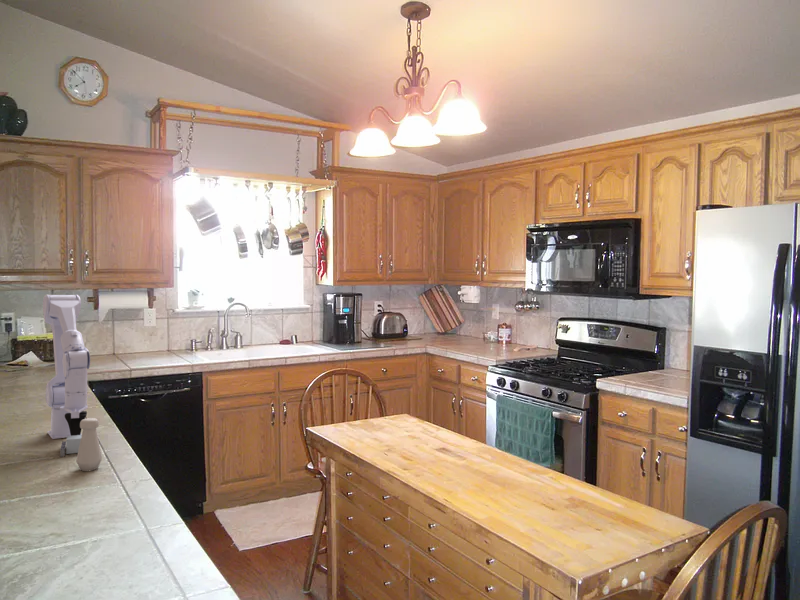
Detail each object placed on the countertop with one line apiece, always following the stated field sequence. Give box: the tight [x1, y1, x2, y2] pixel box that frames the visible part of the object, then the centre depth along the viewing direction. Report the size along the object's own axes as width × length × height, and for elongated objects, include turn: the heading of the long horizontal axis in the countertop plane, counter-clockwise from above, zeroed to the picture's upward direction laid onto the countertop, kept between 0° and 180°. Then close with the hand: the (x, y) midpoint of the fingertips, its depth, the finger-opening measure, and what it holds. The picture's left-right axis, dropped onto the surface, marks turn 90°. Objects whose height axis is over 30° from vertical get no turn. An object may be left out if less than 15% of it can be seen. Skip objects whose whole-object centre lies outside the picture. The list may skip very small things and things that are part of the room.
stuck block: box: [65, 435, 82, 455], centre depth 169 cm, size 4×4×4 cm
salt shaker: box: [75, 417, 103, 472], centre depth 154 cm, size 6×6×13 cm
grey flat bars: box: [59, 440, 66, 458], centre depth 169 cm, size 9×7×2 cm
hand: (75, 437), depth 175 cm, fingers closed
